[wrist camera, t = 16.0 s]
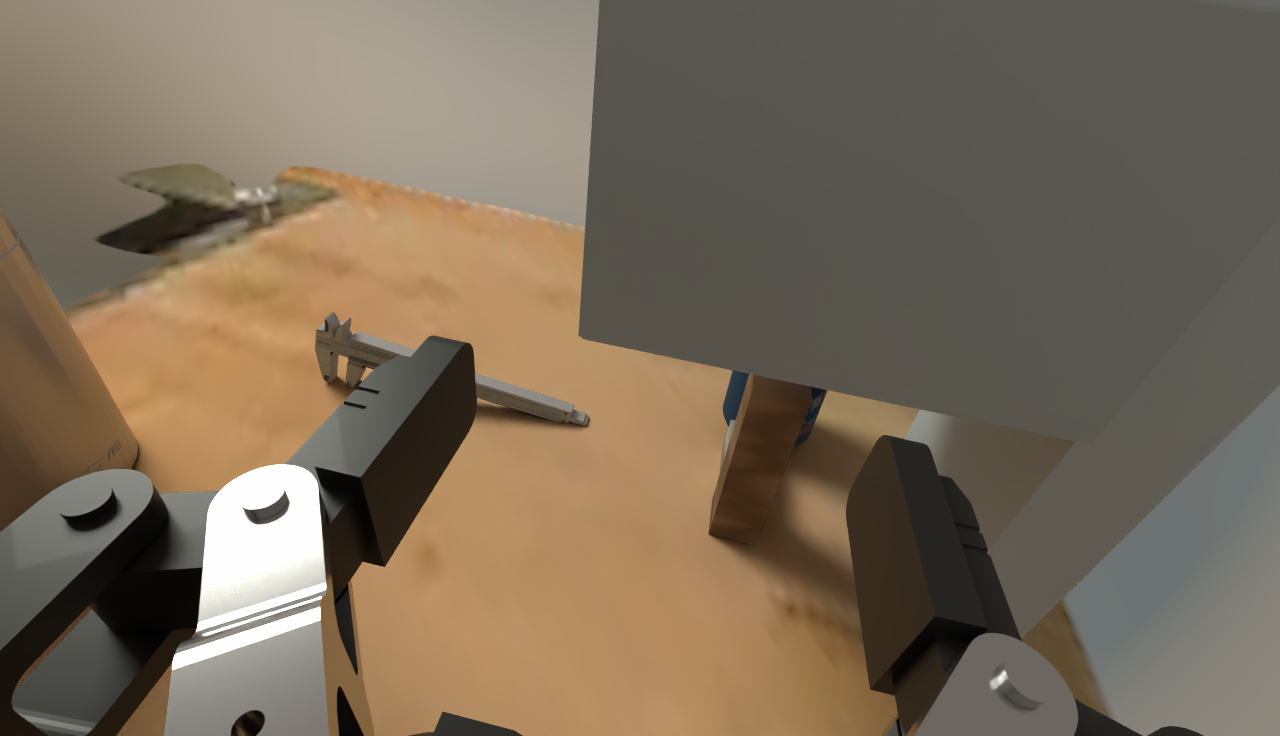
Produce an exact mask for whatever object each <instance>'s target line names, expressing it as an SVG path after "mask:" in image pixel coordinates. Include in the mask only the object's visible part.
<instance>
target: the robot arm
mask: <svg viewBox="0 0 1280 736" xmlns="http://www.w3.org/2000/svg"><path fill="white" fill-rule="evenodd" d="M476 407H477V396H476V381H475V366H474V353H473V348H472V346H471V344H469V343H466V342H461V341H457V340H452V339H447V338H443V337H438V336H430V337H428V338H427V339H426V340H425V341H424V342H423V343H422V345H421V346H420V347H419V348H418V349H417V350H416V351H415V353H414V354H413V355H412V356H411V357H408V356H404V355H398V356H397V357H395V358H393V359H391V360H389V361H387V362H386V363H384V364H382V365H380V366H378V367H376V368H375V369H374V370H373V371H372V372H371V373H370V374H369V375H368V376H367V377H366V378H365V379H364V380H363V382H362V383H361V384H360V385H359V386H358V389H357V390H354V391H353V392H352V393H351V394H350V395H349V396H348V397H347V399H346V400H345V401H344V404H343V405H340V406H339V407H338V408H337V409H336V410H335V411H334V412H333V413H332V415H331V416H330V417H329V418H328V419H327V420H326V421H325V422H324V423H323V424H322V425H321V426H320V427H319V428H318V429H317V430H316V432H315V433H314V434H313V435H312V436H311V437H310V438H309V439H308V440H307V441H306V442H305V443H304V444H303V445H302V446H301V447H300V449H299V450H298V451H297V452H296V453H295V454H294V455H293V456H292V457H291V458H290V459H289V460H288V461H287V462H286V463H285V464H284V465H273V466H268V467H263V468H259V469H256V470H253V471H251V472H248V473H246V474H244V475H242V476H240V477H238V478H236V479H235V480H233V481H232V482H230V483H229V484H228V485H226V486H225V487H224V488H223V489H222V490H221V491H205V492H182V493H158V491H157V490H156V488H155V486H154V485H153V483H152V482H151V480H150V478H148V477H147V476H146V475H145V474H143V473H141V472H139V471H135V470H130V469H131V468H132V466H133V464H134V462H135V460H136V458H137V454H138V444H137V441H136V438H135V436H134V435H133V433H132V431H131V429H130V428H129V426H128V424H127V422H126V421H125V419H124V417H123V415H122V414H121V412H120V410H119V408H118V407H117V405H116V403H115V402H114V400H113V398H112V396H111V394H110V392H109V390H108V389H107V387H106V385H105V383H104V382H103V380H102V378H101V376H100V375H99V373H98V371H97V370H96V368H95V366H94V364H93V363H92V361H91V359H90V357H89V356H88V354H87V352H86V350H85V349H84V347H83V345H82V344H81V342H80V340H79V338H78V337H77V335H76V333H75V331H74V330H73V328H72V326H71V324H70V323H69V321H68V319H67V318H66V316H65V314H64V312H63V311H62V309H61V307H60V305H59V304H58V302H57V300H56V298H55V297H54V295H53V293H52V291H51V290H50V288H49V287H48V285H47V283H46V281H45V279H44V278H43V276H42V274H41V273H40V271H39V269H38V267H37V265H36V264H35V262H34V260H33V259H32V257H31V255H30V253H29V252H28V250H27V248H26V246H25V245H24V243H23V241H22V239H21V238H20V236H19V235H18V233H17V231H16V230H15V228H14V226H13V225H12V223H11V221H10V219H9V218H8V216H7V214H6V212H5V211H4V209H3V207H2V205H1V204H0V736H116V735H117V733H118V732H119V731H120V730H121V728H122V727H123V726H124V724H125V723H126V722H127V720H128V719H129V718H130V717H131V715H132V714H133V713H134V711H135V710H136V709H137V707H138V706H139V705H140V704H141V702H142V701H143V700H144V698H145V697H146V696H147V695H148V693H149V692H150V691H151V689H152V688H153V687H154V685H155V684H156V683H157V682H158V680H159V679H160V678H161V676H162V675H163V674H164V672H165V671H166V670H167V669H168V667H169V666H170V665H171V663H172V662H173V665H172V671H171V680H170V688H169V697H168V705H167V714H166V722H165V731H164V736H374V730H373V724H372V718H371V714H370V709H369V705H368V701H367V697H366V692H365V686H364V680H363V672H362V664H361V655H360V647H359V639H358V631H357V622H356V614H355V606H354V597H353V589H352V583H351V578H352V577H353V575H354V574H355V572H356V571H357V569H358V568H359V566H360V565H361V563H362V562H367V563H371V564H375V565H379V566H383V567H385V566H386V564H387V563H388V561H389V559H390V558H391V556H392V555H393V553H394V551H395V550H396V548H397V546H398V545H399V543H400V542H401V540H402V538H403V537H404V535H405V534H406V532H407V530H408V529H409V527H410V526H411V524H412V522H413V521H414V519H415V518H416V516H417V514H418V513H419V511H420V509H421V508H422V506H423V505H424V503H425V501H426V500H427V498H428V497H429V495H430V493H431V492H432V490H433V489H434V487H435V485H436V484H437V482H438V481H439V479H440V477H441V476H442V474H443V472H444V471H445V469H446V468H447V466H448V464H449V463H450V461H451V460H452V458H453V456H454V455H455V453H456V452H457V450H458V448H459V447H460V445H461V443H462V442H463V440H464V439H465V437H466V435H467V434H468V432H469V430H470V428H471V426H472V424H473V421H474V417H475V413H476ZM846 520H847V527H848V534H849V542H850V549H851V556H852V563H853V570H854V577H855V585H856V592H857V599H858V606H859V613H860V621H861V628H862V635H863V642H864V649H865V657H866V664H867V671H868V678H869V685H870V689H871V690H875V691H879V692H883V693H887V694H891V695H895V698H896V704H897V710H898V714H897V715H896V716H895V717H894V718H893V719H892V721H891V722H890V724H889V725H888V727H887V728H886V730H885V731H884V733H883V734H882V736H1142V735H1140V734H1138V733H1136V732H1134V731H1132V730H1131V729H1129V728H1127V727H1125V726H1123V725H1121V724H1120V723H1118V722H1116V721H1114V720H1112V719H1110V718H1108V717H1106V716H1105V715H1103V714H1101V713H1099V712H1097V711H1095V710H1093V709H1092V708H1090V707H1088V706H1086V705H1084V704H1082V703H1081V702H1079V701H1077V700H1076V699H1074V697H1073V694H1072V692H1071V690H1070V689H1069V687H1068V685H1067V683H1066V682H1065V680H1064V679H1063V677H1062V676H1061V675H1060V673H1059V672H1058V671H1057V670H1056V668H1055V667H1054V666H1053V665H1052V664H1051V663H1050V662H1049V661H1048V660H1047V659H1046V658H1045V657H1043V656H1042V655H1041V654H1040V653H1039V652H1037V651H1036V650H1035V649H1033V648H1032V647H1030V646H1029V645H1027V644H1025V643H1024V642H1022V639H1021V637H1020V635H1019V632H1018V629H1017V627H1016V624H1015V621H1014V618H1013V616H1012V613H1011V610H1010V608H1009V605H1008V602H1007V599H1006V597H1005V594H1004V591H1003V589H1002V586H1001V583H1000V581H999V578H998V575H997V572H996V570H995V567H994V564H993V562H992V559H991V556H990V555H988V554H987V551H988V548H987V545H986V543H985V540H984V537H983V534H982V533H980V532H979V530H980V526H979V524H978V521H977V518H976V515H975V513H974V510H973V507H972V505H971V502H970V501H969V500H968V498H967V497H966V496H965V495H964V493H963V492H962V491H961V490H960V488H959V487H958V486H957V485H956V483H955V482H954V481H953V480H952V478H950V477H946V476H941V475H938V471H937V468H936V465H935V462H934V459H933V456H932V453H931V450H930V448H929V447H928V445H926V444H924V443H920V442H915V441H911V440H906V439H901V438H897V437H892V436H888V435H883V436H881V437H880V438H879V439H878V441H877V442H876V444H875V446H874V447H873V449H872V451H871V453H870V455H869V457H868V458H867V460H866V462H865V464H864V466H863V467H862V469H861V471H860V473H859V475H858V476H857V478H856V480H855V482H854V484H853V486H852V488H851V490H850V493H849V496H848V501H847V508H846ZM88 606H89V607H90V608H91V609H92V610H91V611H90V612H89V613H88V614H87V615H86V616H85V617H84V618H83V619H82V620H81V621H80V622H79V623H78V624H77V625H76V626H75V627H74V629H73V630H72V631H71V632H70V633H69V634H68V635H67V636H66V637H65V638H64V639H63V640H62V641H61V642H60V643H59V644H58V645H57V646H56V647H55V648H54V650H53V651H52V652H51V653H50V654H49V655H48V656H47V657H46V658H45V659H44V660H43V661H42V662H41V663H40V664H39V665H38V666H37V667H36V668H35V670H34V671H33V672H32V673H31V674H30V675H29V676H28V677H27V678H26V679H25V680H24V681H23V682H22V683H21V684H20V685H19V686H18V687H17V688H16V689H15V687H16V685H17V683H18V681H19V680H20V678H21V677H22V675H23V674H24V673H25V671H26V670H27V669H28V668H29V667H30V666H31V665H32V664H33V663H34V662H35V661H36V660H37V659H38V657H39V656H40V655H41V654H42V653H43V652H44V651H45V650H46V649H47V648H48V647H49V646H50V645H51V644H52V643H53V642H54V641H55V640H56V639H57V638H58V637H59V636H60V635H61V634H62V633H63V632H64V630H65V629H66V628H67V627H68V626H69V625H70V624H71V623H72V622H73V621H74V620H75V619H76V618H77V617H78V616H79V615H80V614H81V613H82V612H83V611H84V610H85V609H86V608H87V607H88ZM195 632H196V634H195V636H194V637H193V638H191V637H192V636H193V635H194V633H195ZM14 689H15V691H14ZM410 736H522V735H521V734H519V733H517V732H516V731H514V730H510V729H507V728H503V727H499V726H495V725H491V724H488V723H484V722H480V721H476V720H472V719H469V718H465V717H461V716H457V715H453V714H450V713H446V712H442V714H441V717H440V719H439V721H438V724H437V726H436V728H435V731H434V732H426V733H420V734H415V735H410ZM1148 736H1203V735H1200V734H1199V733H1197V732H1194V731H1191V730H1189V729H1186V728H1181V727H1175V726H1168V727H1163V728H1160V729H1159V730H1157V731H1155V732H1153V733H1151V734H1150V735H1148Z"/></svg>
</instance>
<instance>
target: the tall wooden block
mask: <svg viewBox="0 0 1280 736" xmlns="http://www.w3.org/2000/svg"><path fill="white" fill-rule="evenodd" d="M811 402H812V392H811V386H806V385H801V384H796V383H791V382H787V381H782V380H777V379H772V378H767V377H763V376H758V375H753V374H749V377H748V380H747V383H746V387H745V390H744V394H743V397H742V400H741V404H740V407H739V411H738V414H737V417H736V421H735V420H731V421H730V425H729V428H728V432H727V435H726V439H725V442H724V446H723V449H722V458H721V467H720V475H719V479H718V482H717V486H716V489H715V492H714V496H713V500H712V509H711V517H710V526H709V534H710V535H715V536H719V537H723V538H727V539H731V540H736V541H740V542H744V543H748V544H753V545H756V542H757V540H758V537H759V535H760V532H761V529H762V527H763V524H764V522H765V519H766V517H767V514H768V512H769V509H770V506H771V504H772V501H773V499H774V496H775V494H776V491H777V488H778V486H779V483H780V481H781V478H782V476H783V473H784V471H785V468H786V465H787V463H788V460H789V458H790V455H791V453H792V450H793V448H794V445H795V442H796V440H797V437H798V435H799V432H800V430H801V427H802V425H803V422H804V419H805V417H806V414H807V412H808V409H809V407H810V404H811Z"/></svg>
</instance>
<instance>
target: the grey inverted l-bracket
mask: <svg viewBox="0 0 1280 736" xmlns="http://www.w3.org/2000/svg"><path fill="white" fill-rule="evenodd" d="M579 336H580V337H582V339H585V340H590V341H595V342H600V343H604V344H609V345H614V346H619V347H624V348H628V349H633V350H638V351H643V352H648V353H652V354H657V355H662V356H667V357H672V358H676V359H681V360H686V361H691V362H696V363H700V364H705V365H710V366H715V367H720V368H724V369H729V370H734V371H739V372H743V373H748V374H753V375H758V376H763V377H767V378H772V379H777V380H782V381H787V382H791V383H796V384H801V385H806V386H811V387H815V388H820V389H825V390H830V391H835V392H839V393H844V394H849V395H854V396H859V397H863V398H868V399H873V400H878V401H883V402H887V403H892V404H897V405H902V406H907V407H911V408H916V409H920V411H919V413H918V414H917V416H916V418H915V420H914V422H913V424H912V425H911V427H910V429H909V431H908V433H907V434H906V436H905V438H904V439H906V440H911V441H915V442H920V443H924V444H926V445H928V447H929V448H930V450H931V453H932V456H933V459H934V462H935V465H936V468H937V471H938V475H941V476H946V477H950V478H952V480H953V481H954V482H955V483H956V485H957V486H958V487H959V488H960V490H961V491H962V492H963V493H964V495H965V496H966V497H967V498H968V500H969V501H970V502H971V505H972V507H973V510H974V513H975V515H976V518H977V521H978V524H979V526H980V530H979V532H980V533H982V534H983V537H984V540H985V543H986V545H987V548H988V551H987V554H988V555H990V556H991V559H992V562H993V564H994V567H995V570H996V572H997V575H998V578H999V581H1000V583H1001V586H1002V589H1003V591H1004V594H1005V597H1006V599H1007V602H1008V605H1009V608H1010V610H1011V613H1012V616H1013V618H1014V621H1015V624H1016V627H1017V629H1018V632H1019V635H1020V637H1021V639H1022V638H1023V637H1024V636H1025V635H1026V634H1027V633H1028V632H1029V631H1030V630H1031V629H1032V628H1033V627H1034V626H1035V625H1036V624H1037V623H1038V622H1039V621H1040V620H1041V619H1042V618H1043V617H1044V616H1045V615H1046V614H1048V613H1049V612H1050V611H1051V610H1052V609H1053V608H1054V607H1055V606H1056V605H1057V604H1058V603H1059V602H1060V601H1061V600H1062V599H1063V598H1064V597H1065V596H1066V595H1067V594H1068V593H1069V592H1070V591H1071V590H1072V589H1073V588H1074V587H1075V586H1076V585H1077V584H1078V583H1079V582H1080V581H1081V580H1082V579H1083V578H1084V577H1085V576H1086V575H1087V574H1088V573H1089V572H1090V571H1091V570H1092V569H1093V568H1094V567H1095V566H1096V565H1097V564H1098V563H1099V562H1100V561H1101V560H1102V559H1103V558H1104V557H1105V556H1106V555H1107V554H1108V553H1109V552H1110V551H1111V550H1112V549H1114V548H1115V547H1116V545H1117V544H1118V543H1119V542H1121V541H1122V540H1123V538H1125V537H1126V536H1127V535H1128V534H1129V533H1130V532H1131V531H1132V530H1133V529H1134V528H1135V527H1136V526H1137V525H1138V524H1139V523H1140V522H1141V521H1142V520H1143V519H1144V518H1145V517H1146V516H1147V515H1148V514H1149V513H1150V512H1151V511H1152V510H1153V509H1154V508H1155V507H1156V506H1157V505H1158V504H1159V503H1160V502H1161V501H1162V500H1163V499H1164V498H1165V497H1166V496H1167V495H1168V494H1169V493H1170V492H1171V491H1172V490H1173V489H1174V488H1175V487H1176V486H1177V485H1179V483H1181V482H1182V481H1183V479H1185V477H1187V476H1188V475H1189V474H1190V473H1191V472H1192V470H1194V469H1195V468H1196V467H1197V466H1198V465H1199V464H1200V463H1201V462H1202V461H1203V460H1204V459H1205V458H1206V457H1207V456H1208V455H1209V454H1210V453H1211V452H1212V451H1213V450H1214V449H1215V448H1216V447H1217V446H1218V445H1219V444H1220V443H1221V442H1222V441H1223V440H1224V439H1225V438H1226V437H1227V436H1228V435H1229V434H1230V433H1231V432H1232V431H1233V430H1234V429H1235V428H1236V427H1237V426H1238V425H1239V424H1240V423H1241V422H1242V421H1243V420H1245V419H1246V417H1248V416H1249V415H1250V414H1251V413H1252V412H1253V411H1254V410H1255V409H1256V408H1257V407H1258V406H1259V405H1260V404H1261V403H1262V402H1263V401H1264V399H1266V398H1267V397H1268V396H1269V395H1270V394H1271V393H1272V392H1273V391H1274V390H1275V389H1276V388H1277V387H1278V386H1279V385H1280V0H600V3H599V19H598V35H597V50H596V66H595V83H594V98H593V114H592V131H591V146H590V162H589V178H588V193H587V209H586V225H585V241H584V257H583V273H582V289H581V305H580V321H579Z"/></svg>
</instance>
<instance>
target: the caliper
mask: <svg viewBox="0 0 1280 736" xmlns="http://www.w3.org/2000/svg"><path fill="white" fill-rule="evenodd" d="M350 326H351V318H348V319H347V320H346V321H345V322H344V323H343V324H342V325H341V326H340V323H339V320H338V317H337V316H336V314H335V313H334V312H332V313H331V314H330V315H329V316H327V317H326V318H325V322H324V323H323V324H322V325H321V326H319V327H318V328H317V331H316V344H315V351H316V355H317V359H318V363H319V366H320V370H321V373H322V377H323V379H324V380H325V381H326V382H328V383H331V382H332V381H333V380H334V379H335V378H336V377H337V367H338V356H339V355H342V356H345V357H348V363H347V374H346V380H347V387H354V386H355V385H356V384H357V383H358V381H359V380H360V379H361V377H362V375H363V373H364V372H365V370H366V368H367V367H368V368H371V369H375V368H376V367H378V366H380V365H382V364H384V363H386V362H387V361H389V360H391V359H393V358H395V357H397V356H398V355H404V356H408V357H411V356H412V355H413V354H414V353H415V351H416V350H414V349H411V348H408V347H405V346H402V345H398V344H395V343H392V342H389V341H386V340H383V339H380V338H377V337H374V336H371V335H368V334H365V333H362V332H356V333H355V334H354V335H352V334H351V333H352V332H351V331H350ZM475 381H476V396H477V398H480V399H483V400H486V401H490V402H493V403H496V404H499V405H502V406H505V407H509V408H512V409H515V410H518V411H521V412H524V413H528V414H531V415H534V416H537V417H540V418H544V419H547V420H551V421H557V422H563V423H569V421H570V422H573V423H576V424H579V425H583V426H587V422H588V419H589V416H588V415H586V413H584V412H581V411H577V410H574V404H571V403H568V402H565V401H562V400H559V399H556V398H553V397H549V396H546V395H543V394H540V393H537V392H534V391H530V390H527V389H524V388H521V387H518V386H515V385H511V384H508V383H505V382H502V381H499V380H495V379H492V378H489V377H486V376H483V375H479V374H476V373H475Z"/></svg>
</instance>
